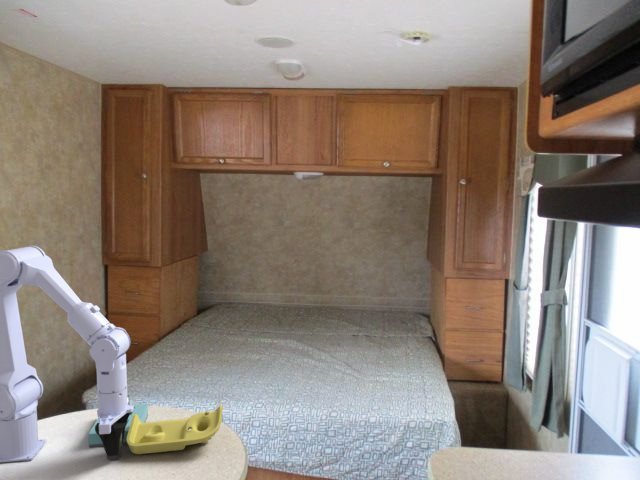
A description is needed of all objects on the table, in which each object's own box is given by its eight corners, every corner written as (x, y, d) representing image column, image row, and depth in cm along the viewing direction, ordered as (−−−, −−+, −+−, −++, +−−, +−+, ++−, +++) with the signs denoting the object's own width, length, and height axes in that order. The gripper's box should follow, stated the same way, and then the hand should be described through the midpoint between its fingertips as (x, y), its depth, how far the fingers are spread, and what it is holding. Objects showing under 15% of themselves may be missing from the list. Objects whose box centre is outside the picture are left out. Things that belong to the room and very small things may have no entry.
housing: (89, 447, 109) (88, 434, 108) (105, 418, 122) (105, 406, 122) (137, 443, 110) (136, 430, 110) (147, 415, 124) (147, 403, 124)
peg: (105, 461, 103) (104, 433, 103) (109, 453, 106) (108, 426, 105) (120, 460, 104) (119, 432, 103) (124, 452, 107) (123, 425, 106)
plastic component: (124, 447, 103) (134, 408, 112) (132, 468, 107) (141, 429, 116) (220, 437, 105) (223, 399, 113) (225, 458, 108) (227, 420, 117)
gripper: (125, 401, 97) (127, 467, 98) (139, 374, 111) (141, 432, 112) (86, 404, 96) (89, 470, 97) (105, 376, 110) (108, 434, 111)
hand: (114, 450), depth 105 cm, fingers open, 3 cm apart
